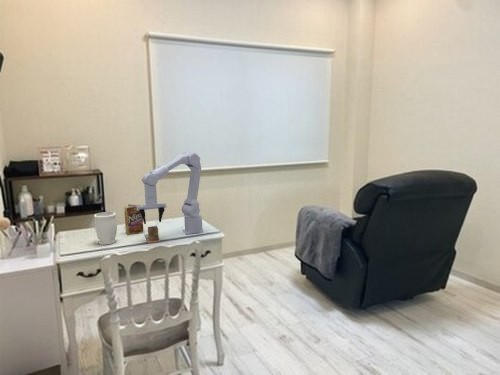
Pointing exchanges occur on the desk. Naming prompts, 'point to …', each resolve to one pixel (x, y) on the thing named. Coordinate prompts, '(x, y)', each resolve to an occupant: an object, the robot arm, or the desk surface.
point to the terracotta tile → (153, 241)
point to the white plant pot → (106, 227)
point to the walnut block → (153, 233)
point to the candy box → (133, 220)
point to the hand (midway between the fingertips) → (152, 222)
